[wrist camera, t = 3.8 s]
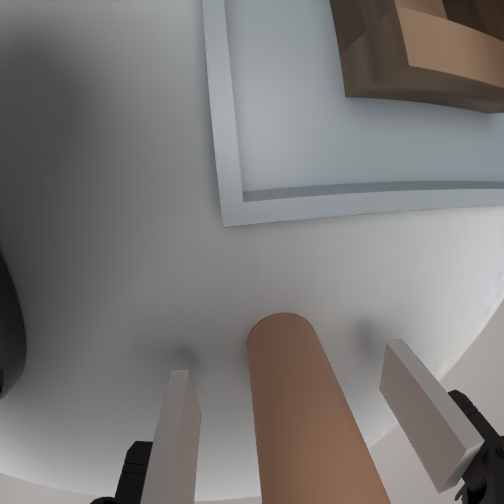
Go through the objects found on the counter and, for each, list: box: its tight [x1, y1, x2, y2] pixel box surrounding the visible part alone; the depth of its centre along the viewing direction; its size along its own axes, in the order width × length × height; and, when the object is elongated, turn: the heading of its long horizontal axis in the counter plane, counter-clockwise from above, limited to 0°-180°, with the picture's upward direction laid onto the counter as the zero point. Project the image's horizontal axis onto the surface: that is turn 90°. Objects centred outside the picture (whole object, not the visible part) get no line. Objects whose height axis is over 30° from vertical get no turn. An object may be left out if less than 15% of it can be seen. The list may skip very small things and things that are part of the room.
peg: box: [247, 313, 391, 504], centre depth 9 cm, size 4×4×14 cm
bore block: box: [329, 0, 504, 114], centre depth 8 cm, size 9×9×5 cm
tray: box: [202, 0, 504, 227], centre depth 9 cm, size 17×17×4 cm
